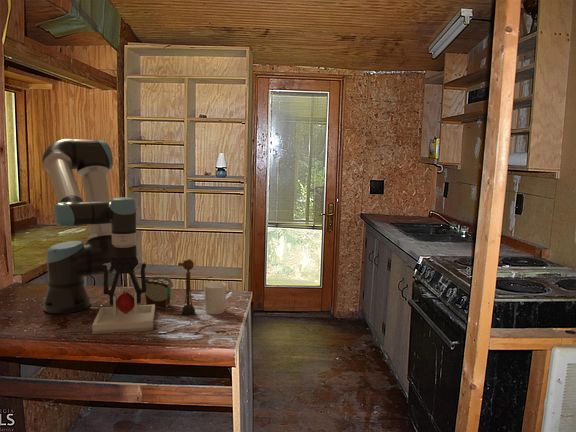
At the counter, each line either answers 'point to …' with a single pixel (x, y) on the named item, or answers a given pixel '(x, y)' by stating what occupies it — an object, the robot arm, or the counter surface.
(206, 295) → the white cup
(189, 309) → the wooden tabletop sculpture
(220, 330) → the counter surface
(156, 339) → the counter surface
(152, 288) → the food container
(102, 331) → the tray
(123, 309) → the onion
